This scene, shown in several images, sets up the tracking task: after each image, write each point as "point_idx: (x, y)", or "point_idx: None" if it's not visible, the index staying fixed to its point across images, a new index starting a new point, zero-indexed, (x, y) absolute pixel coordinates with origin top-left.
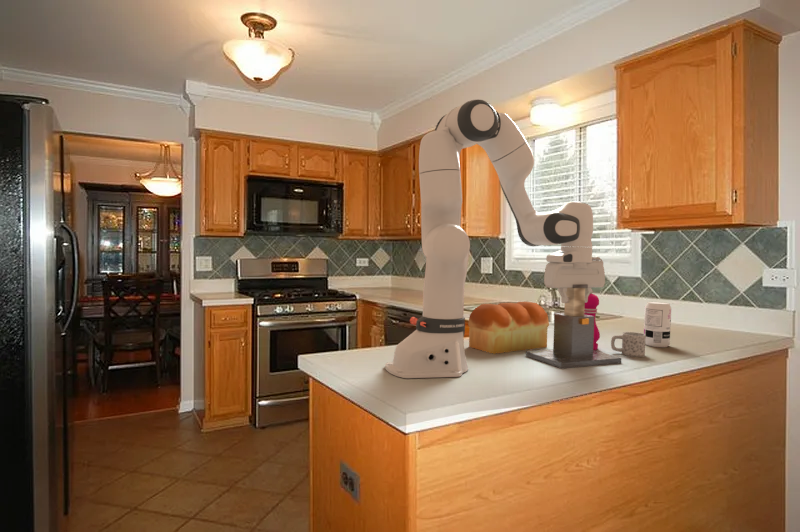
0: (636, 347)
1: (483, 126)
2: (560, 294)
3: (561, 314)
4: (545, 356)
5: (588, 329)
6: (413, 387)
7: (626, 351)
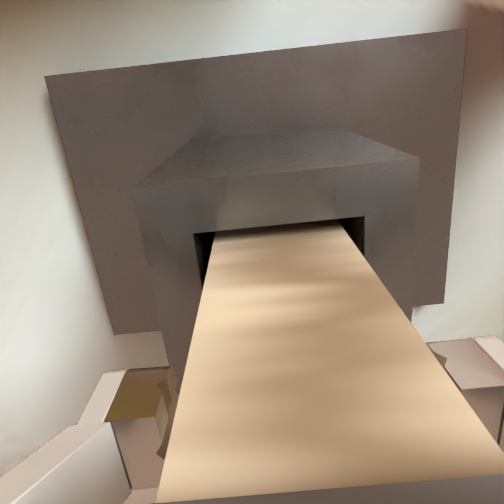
0: None
1: None
2: (30, 467)
3: (169, 263)
4: (101, 215)
5: None
6: None
7: None
